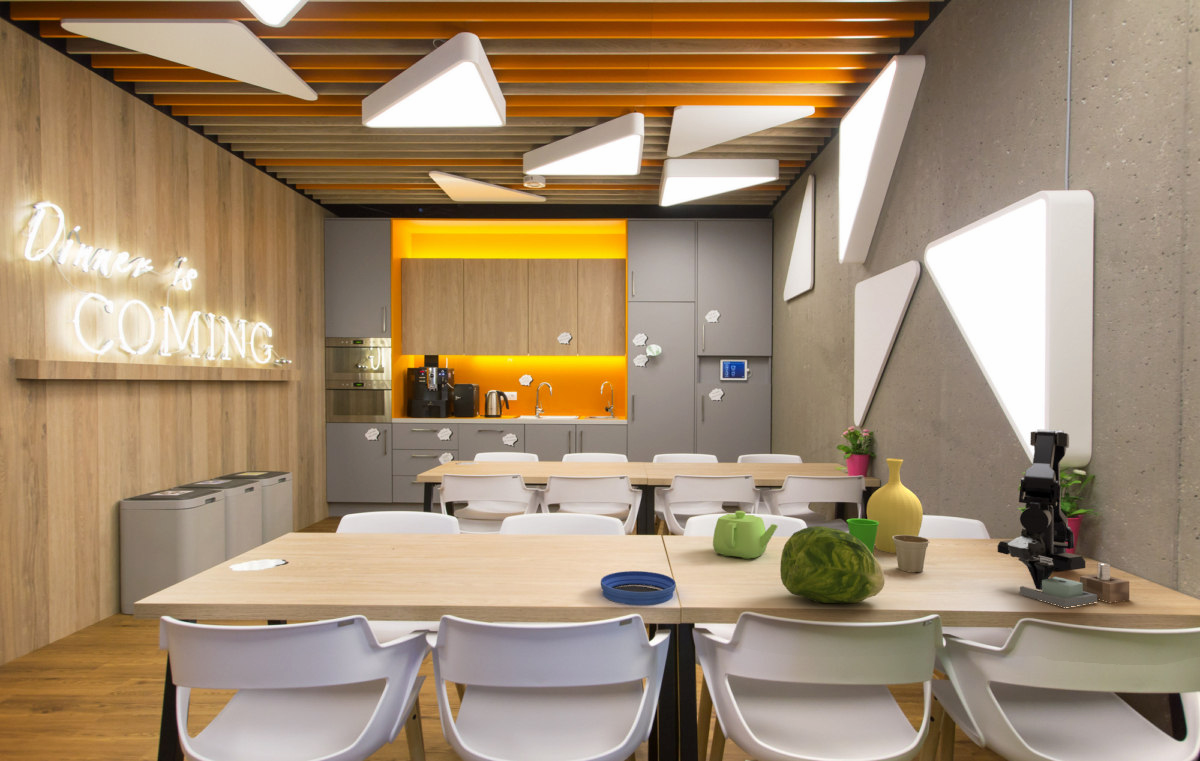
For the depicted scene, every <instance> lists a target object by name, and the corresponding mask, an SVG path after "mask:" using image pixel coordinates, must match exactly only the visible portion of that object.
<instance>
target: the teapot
mask: <svg viewBox="0 0 1200 761" xmlns="http://www.w3.org/2000/svg"><path fill="white" fill-rule="evenodd" d="M746 513H747V512H746V511H744V510H736V511H734V513H728V514H724V515H722V516H720V517H718V518H717V521H716V524H715V527H714V531H713V540H712V547H713V550H714V552H715V553H716V554H721V555H722V556H723V557H737V558H738V557H739V558H741V559H743V560H751V559H754V558H758V557H760V556H761V555H763V554H764V553H765V552H766V550H767V547H768V544H769V542H770V540H771V539H772V537H773V535H774V533H775V532H776V530H777V529H778V527H779V525H777V524H774V523H771V524H770V526H769V527H768V528H767V529H766V526H765V523H764V520H763V518H762V517H760V516H755V514H747V515H746Z"/></svg>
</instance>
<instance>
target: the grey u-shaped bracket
mask: <svg viewBox="0 0 1200 761" xmlns="http://www.w3.org/2000/svg"><path fill="white" fill-rule="evenodd" d="M1020 594H1021V595H1020ZM1019 595H1020V596H1022V595H1024V596H1023V597H1025V596H1027V597H1026V598H1029V597H1031V598H1030V599H1032V598H1034V599H1033V600H1035V599H1039V600H1042V601H1046V602H1049V603H1052V604H1056V605H1059V606H1062V607H1065V608H1066V607H1071V606H1077V605H1083V604H1089V603H1094V602H1097V603H1098V600H1097V595H1096V594H1092V593H1088V592H1085V591H1083V595H1081V596H1075V597H1068V598H1061V597H1058V596H1055V595H1051V594H1048V593H1044V592H1042V590H1038V589H1035V588H1030V587H1027V586H1023V585H1021V586H1019ZM1042 601H1041V602H1042Z"/></svg>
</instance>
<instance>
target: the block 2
mask: <svg viewBox="0 0 1200 761" xmlns="http://www.w3.org/2000/svg"><path fill="white" fill-rule="evenodd" d="M1079 582H1081V583H1083V591H1085V592H1088V593H1092V594H1096V595H1097V599H1100V600H1104V601H1107V602H1115V601H1121V602H1124V601H1123V600H1127V601H1130V580H1127V579H1122V578H1117V577H1114V576H1110V581H1103V580H1099V579H1098V573H1094V574H1092V573H1091V574H1087V575H1086V574H1085V575H1080V576H1079ZM1100 600H1099V601H1100ZM1104 601H1103V602H1104ZM1107 602H1106V603H1107ZM1115 603H1116V602H1115Z"/></svg>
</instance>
